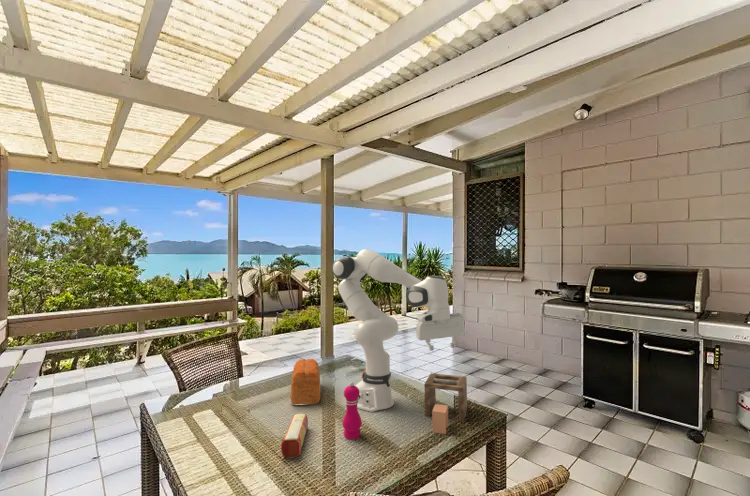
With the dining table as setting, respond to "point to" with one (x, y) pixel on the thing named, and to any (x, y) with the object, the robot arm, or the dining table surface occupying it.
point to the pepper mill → (351, 413)
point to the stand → (446, 384)
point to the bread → (305, 382)
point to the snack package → (294, 436)
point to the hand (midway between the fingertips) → (442, 348)
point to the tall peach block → (440, 418)
